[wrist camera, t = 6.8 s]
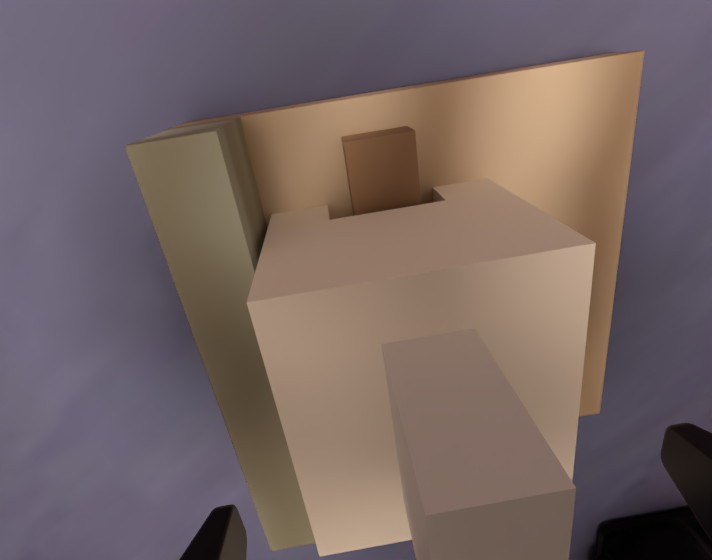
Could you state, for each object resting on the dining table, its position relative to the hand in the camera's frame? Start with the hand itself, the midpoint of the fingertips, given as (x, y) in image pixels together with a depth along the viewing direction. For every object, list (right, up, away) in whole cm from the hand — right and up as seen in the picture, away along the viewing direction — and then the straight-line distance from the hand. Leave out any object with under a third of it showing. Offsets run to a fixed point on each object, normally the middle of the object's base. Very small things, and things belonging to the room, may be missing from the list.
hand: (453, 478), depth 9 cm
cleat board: (0, +4, +8) cm, 9 cm away
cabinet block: (-1, +3, +7) cm, 8 cm away
